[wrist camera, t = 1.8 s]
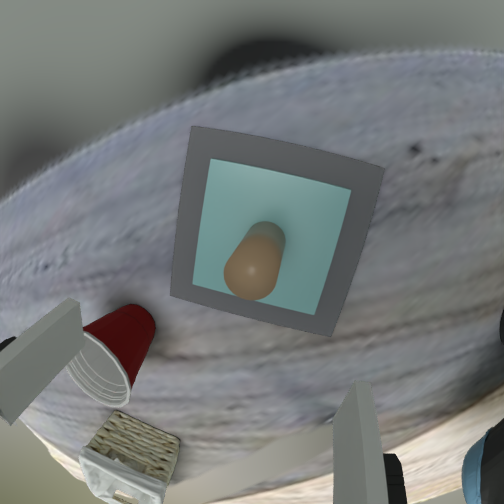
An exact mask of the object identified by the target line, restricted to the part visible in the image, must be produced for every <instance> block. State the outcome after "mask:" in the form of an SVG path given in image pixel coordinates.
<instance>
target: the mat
mask: <svg viewBox="0 0 504 504" xmlns="http://www.w3.org/2000/svg"><path fill="white" fill-rule="evenodd" d="M211 158H215V159H221V160H226V161H232V162H237V163H242V164H247V165H252V166H257V167H262V168H266V169H271V170H276V171H280V172H284V173H289V174H293V175H297V176H302V177H306V178H310V179H314V180H318V181H322V182H326V183H330V184H333V185H337V186H341V187H345V188H348V189H351V194H350V197H349V201H348V205H347V209H346V213H345V216H344V220H343V224H342V227H341V231H340V234H339V238H338V241H337V245H336V248H335V251H334V255H333V258H332V261H331V265H330V268H329V271H328V274H327V278H326V281H325V284H324V287H323V290H322V293H321V296H320V299H319V302H318V305H317V308H316V311H315V314H314V315H311V314H307V313H303V312H299V311H294V310H290V309H286V308H282V307H278V306H274V305H270V304H266V303H262V302H258V301H254V300H245V299H242V298H240V297H238V296H234V295H231V294H227V293H223V292H219V291H216V290H212V289H208V288H205V287H201V286H197V285H194V284H192V283H193V275H194V267H195V259H196V251H197V244H198V237H199V230H200V223H201V216H202V209H203V203H204V196H205V190H206V184H207V178H208V172H209V166H210V160H211ZM384 170H385V168H382V167H379V166H376V165H372V164H369V163H366V162H362V161H359V160H355V159H352V158H348V157H344V156H341V155H337V154H333V153H329V152H326V151H322V150H318V149H313V148H309V147H305V146H301V145H296V144H292V143H287V142H283V141H278V140H273V139H268V138H263V137H258V136H253V135H247V134H241V133H236V132H230V131H223V130H217V129H210V128H203V127H195V126H192V127H191V132H190V138H189V144H188V150H187V156H186V162H185V168H184V175H183V182H182V189H181V196H180V203H179V211H178V219H177V228H176V236H175V246H174V255H173V266H172V277H171V289H170V296H173V297H176V298H180V299H183V300H186V301H190V302H193V303H197V304H200V305H204V306H207V307H211V308H214V309H218V310H222V311H225V312H229V313H233V314H236V315H240V316H244V317H248V318H252V319H256V320H260V321H264V322H268V323H272V324H276V325H280V326H284V327H288V328H292V329H297V330H301V331H305V332H310V333H314V334H319V335H324V336H328V337H331V335H332V333H333V330H334V328H335V325H336V323H337V320H338V317H339V315H340V312H341V310H342V307H343V304H344V301H345V299H346V296H347V293H348V290H349V288H350V285H351V282H352V279H353V276H354V273H355V270H356V267H357V264H358V261H359V258H360V255H361V252H362V249H363V246H364V242H365V239H366V236H367V233H368V229H369V226H370V222H371V219H372V215H373V212H374V208H375V205H376V201H377V197H378V194H379V190H380V186H381V182H382V178H383V174H384Z"/></svg>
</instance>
